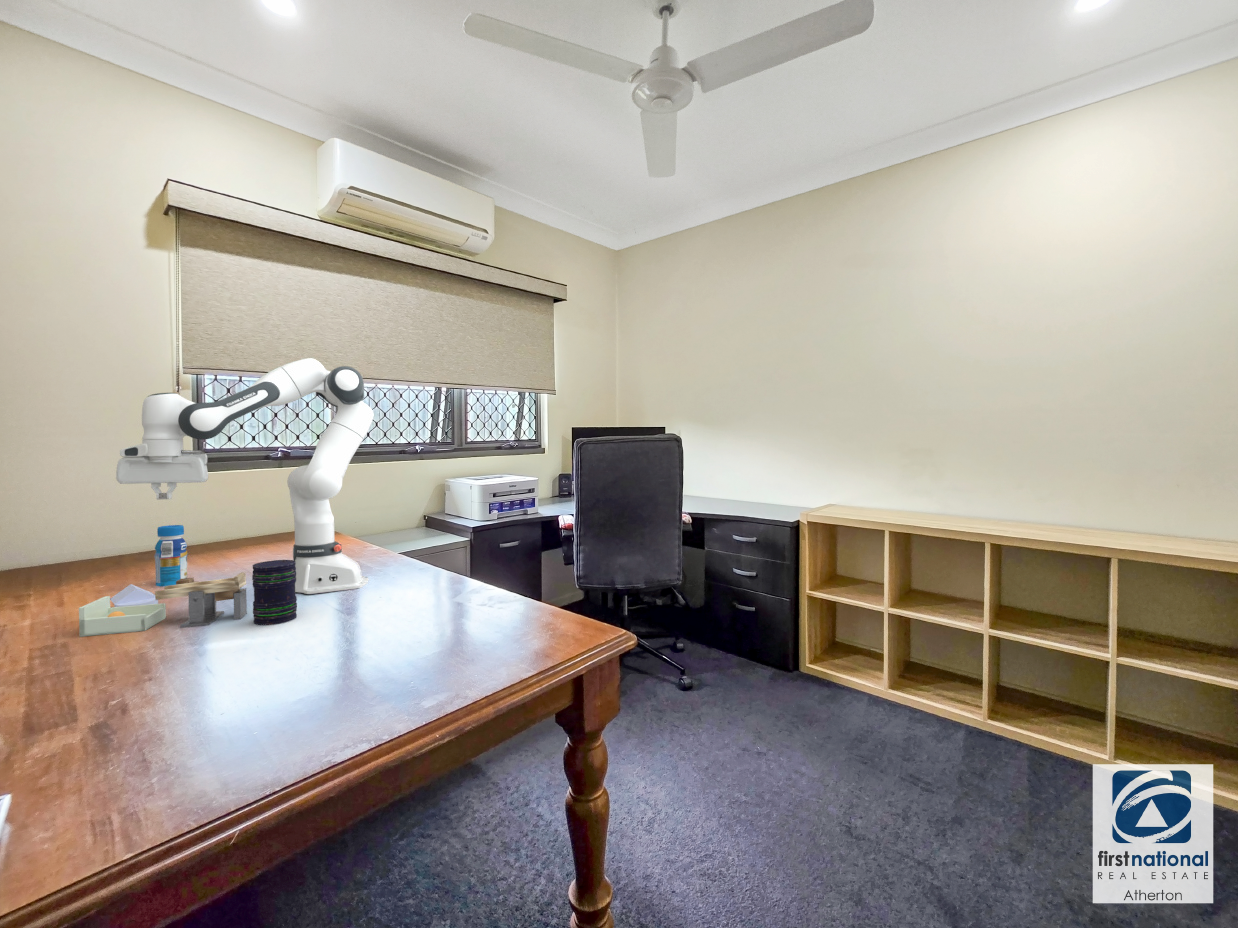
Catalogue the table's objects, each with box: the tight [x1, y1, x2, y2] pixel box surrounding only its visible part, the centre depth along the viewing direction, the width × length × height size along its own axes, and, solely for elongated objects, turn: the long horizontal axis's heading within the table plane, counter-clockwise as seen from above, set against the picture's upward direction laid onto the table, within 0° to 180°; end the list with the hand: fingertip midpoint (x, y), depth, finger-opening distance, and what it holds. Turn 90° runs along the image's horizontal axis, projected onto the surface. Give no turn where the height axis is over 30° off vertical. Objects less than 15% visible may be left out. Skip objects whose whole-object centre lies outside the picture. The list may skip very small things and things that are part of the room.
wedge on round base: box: [110, 583, 159, 607], centre depth 150 cm, size 9×7×13 cm
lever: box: [154, 571, 247, 602], centre depth 146 cm, size 18×15×6 cm
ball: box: [108, 611, 126, 617], centre depth 136 cm, size 4×4×4 cm
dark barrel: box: [251, 559, 298, 626], centre depth 142 cm, size 10×10×15 cm
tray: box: [78, 595, 167, 638], centre depth 137 cm, size 13×11×7 cm
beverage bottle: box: [154, 524, 189, 587], centre depth 178 cm, size 8×8×20 cm
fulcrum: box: [179, 588, 248, 629], centre depth 143 cm, size 12×11×9 cm
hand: (164, 499), depth 152 cm, fingers closed
